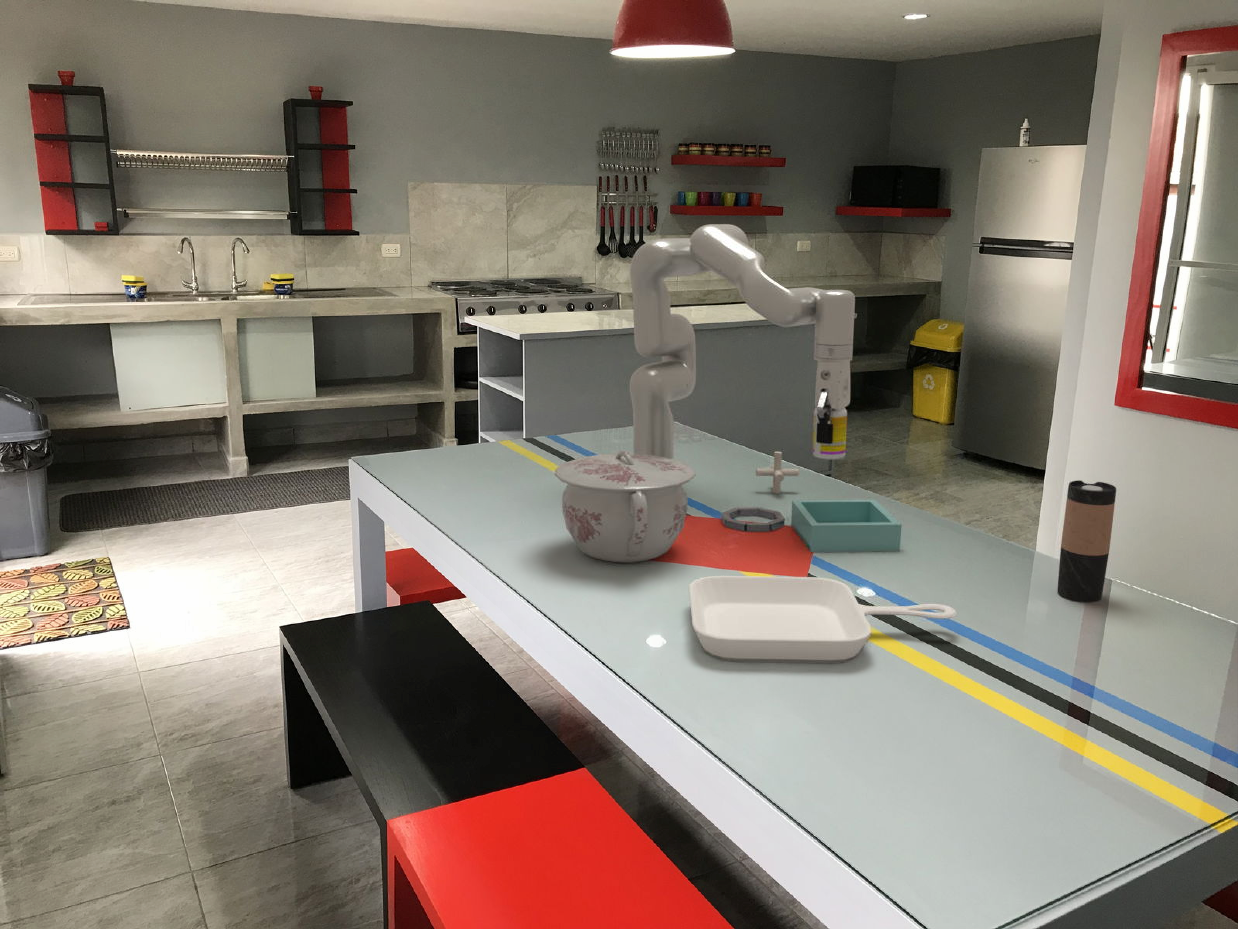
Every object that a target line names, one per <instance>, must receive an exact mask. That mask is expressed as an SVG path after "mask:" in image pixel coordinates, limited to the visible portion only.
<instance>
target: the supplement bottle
mask: <svg viewBox="0 0 1238 929" xmlns="http://www.w3.org/2000/svg"><path fill="white" fill-rule="evenodd" d="M825 408H831V407H829V406H825ZM817 413H818V412H817V408H816V407H815V408H814V410H813V430H812V432H813V433H812V434H813V435H812V455H813V457H815V458H818V459H823V460H838V459H843V458H844V457H845V456H846V454H847V453H846V452H847V450H846V449H847V423H848V410H847V409H846V407H844V408H843V409H841V410H839V411H835V409H834V412H833V418H832V423H831V424H833V442H832V443H831V444H825V443H817V442H816V435H817V417H818V416H817ZM827 414H828V416H829V412H827Z"/></svg>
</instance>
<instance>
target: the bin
mask: <svg viewBox="0 0 1238 929" xmlns="http://www.w3.org/2000/svg"><path fill="white" fill-rule="evenodd" d="M790 518H791V520H790V526H791V527H792V528H793V530H794V531H795V533H796V534H797V535H798V536H799V538H800V540H801V541H802V542H803V544H804V545H805V547H806V548H807V549H808V551H809V552H810V553H823V552H824V553H828V552H829V553H832V552H833V553H836V552H839V553H840V552H900V549H901V540H902V538H901V537H902V526H903V525H902V523H901V522H900V521H899V520H897V519H896V518H895V517H894V516H893V515H892V514H891V513H890V512H889V511H888V510H887V509H886V508H885V507H884V506H882V505H881V504H880V503H879V502H878V501H877V500H876V499H811V500H810V499H808V500H807V499H805V500H804V499H803V500H802V499H800V500H791V516H790Z"/></svg>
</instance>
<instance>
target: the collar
mask: <svg viewBox="0 0 1238 929" xmlns="http://www.w3.org/2000/svg"><path fill="white" fill-rule="evenodd" d="M720 516H721V517H720V518H721V522H722V524H723V526H724V527H726V528H729V529H733V530H736V531H741V532H747V533H751V532H753V533H755V532H756V533H757V532H760V533H761V532H767V533H769V532H773V531H775V530H778V529H780V528H783V527H785V521H786V518H785V517H784V515H783V514H782V513H781V512H780V511H777V510H773V509H769V508H764V507H754V506H753V507H751V506H750V507H734V508H731V509H728V510H725V511H722V512H721V515H720ZM738 517H761V518H766V519H770V521H768V522H746V521H742V520H737V519H734V518H738Z"/></svg>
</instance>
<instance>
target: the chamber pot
mask: <svg viewBox="0 0 1238 929" xmlns="http://www.w3.org/2000/svg"><path fill="white" fill-rule="evenodd" d="M553 475H554V476H555V477H556V478H557V479H558V480H559V481H560V482H562V483H565V484H566V485H567V486H565V489H564V491H563V492H562V497H561V498H562V500H561V501H562V503H561V504H562V509H561V510H562V514H563V518H564V524H565V527H566V528H565V529H566V531H568V533H569V534H570V536H571V538H572V539H573V541H574V542H575V544H576V545H577V547H578V548H579V549H580V550H581V551H582V552H583V553H584V554H586V555H587V556H589V557H592V558H594V559H597V560H601V561H604V562H608V561H610V562H609V563H616V562H618V564H632V562H634V563H641V561H642V562H644V561H649V560H652V559H653V560H654V559H657V558H658V557H661V556H663V555H665V554H666V553H667V552H668V551H669V550H670V548H671V547H672V546H673V545H674V543H675V541H676V540H677V539H678V537H679V535H680V534H681V532H682V531H683V529H684V525H685V521H686V518H687V512H688V495H687V494H688V493H687V491H686V489H685V488H684V487H683V485H685V484H686V483H689V482H690V481H691V480H692V479H694V477H695V476H696V472H695V469H694V468H693V467H692V466H690V465H689V464H686V463H685V462H683V461H680V460H676V459H674V460H673V459H669V458H666V457H660V456H653V455H644V454H633V453H630V451H627V450H625V449H622V450H620V451H619V452H618V453H607V454H596V455H589V456H584V457H580V458H576V459H572V460H569V461H565V462H563V463H562V464H560V465H559V466H558V467H556V468H555V469H554V474H553Z"/></svg>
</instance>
